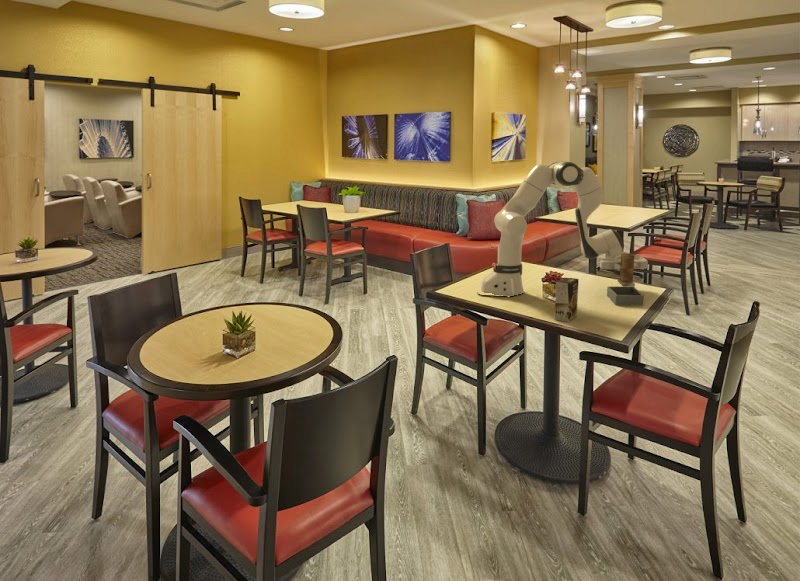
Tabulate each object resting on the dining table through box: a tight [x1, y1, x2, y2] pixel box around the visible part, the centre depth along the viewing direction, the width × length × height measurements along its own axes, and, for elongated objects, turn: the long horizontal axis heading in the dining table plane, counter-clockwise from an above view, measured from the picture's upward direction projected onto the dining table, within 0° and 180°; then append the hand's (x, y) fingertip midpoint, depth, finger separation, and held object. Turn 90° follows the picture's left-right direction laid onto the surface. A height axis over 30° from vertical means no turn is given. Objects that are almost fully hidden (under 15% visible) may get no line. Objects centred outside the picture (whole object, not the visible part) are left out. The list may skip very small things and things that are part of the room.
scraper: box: [617, 253, 636, 287], centre depth 248 cm, size 5×9×13 cm, turn 173°
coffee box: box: [553, 277, 579, 323], centre depth 228 cm, size 9×6×16 cm
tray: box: [606, 286, 645, 306], centre depth 251 cm, size 12×16×4 cm
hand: (627, 267), depth 247 cm, fingers closed on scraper, 4 cm apart
